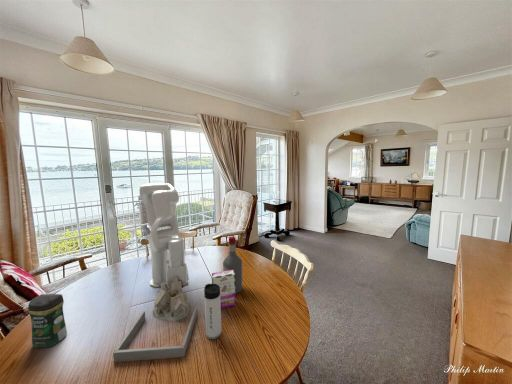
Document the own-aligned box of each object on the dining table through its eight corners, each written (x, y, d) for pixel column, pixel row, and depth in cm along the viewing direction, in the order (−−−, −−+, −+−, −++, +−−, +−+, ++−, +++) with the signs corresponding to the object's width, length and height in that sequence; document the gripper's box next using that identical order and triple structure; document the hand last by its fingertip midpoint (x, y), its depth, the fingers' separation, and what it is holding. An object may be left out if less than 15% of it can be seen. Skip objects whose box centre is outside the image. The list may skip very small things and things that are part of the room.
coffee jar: (27, 349, 77) (21, 302, 76) (49, 332, 85) (44, 290, 84) (52, 349, 77) (46, 302, 75) (71, 333, 85) (67, 290, 83)
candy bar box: (234, 299, 106) (233, 269, 104) (236, 305, 101) (235, 274, 99) (212, 303, 103) (211, 272, 101) (213, 310, 98) (212, 277, 96)
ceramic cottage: (153, 305, 102) (153, 277, 100) (188, 299, 108) (188, 272, 106) (150, 329, 88) (149, 297, 86) (190, 320, 94) (190, 290, 92)
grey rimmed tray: (143, 318, 93) (142, 311, 92) (197, 315, 95) (196, 308, 94) (113, 362, 71) (113, 352, 71) (184, 356, 73) (183, 347, 73)
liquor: (230, 296, 109) (229, 241, 106) (222, 289, 116) (220, 237, 113) (244, 290, 114) (243, 237, 112) (235, 283, 121) (234, 234, 119)
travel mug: (214, 325, 88) (212, 280, 86) (224, 332, 84) (223, 286, 82) (202, 334, 83) (200, 287, 82) (212, 342, 79) (210, 293, 77)
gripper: (159, 266, 100) (161, 302, 102) (190, 264, 102) (191, 300, 103) (164, 260, 108) (166, 293, 109) (193, 258, 109) (195, 291, 111)
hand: (178, 296), depth 106 cm, fingers closed
